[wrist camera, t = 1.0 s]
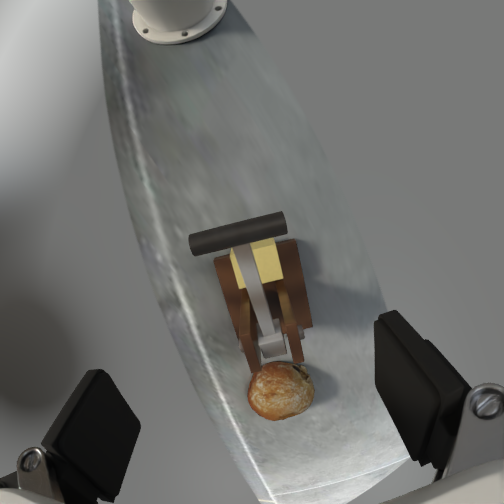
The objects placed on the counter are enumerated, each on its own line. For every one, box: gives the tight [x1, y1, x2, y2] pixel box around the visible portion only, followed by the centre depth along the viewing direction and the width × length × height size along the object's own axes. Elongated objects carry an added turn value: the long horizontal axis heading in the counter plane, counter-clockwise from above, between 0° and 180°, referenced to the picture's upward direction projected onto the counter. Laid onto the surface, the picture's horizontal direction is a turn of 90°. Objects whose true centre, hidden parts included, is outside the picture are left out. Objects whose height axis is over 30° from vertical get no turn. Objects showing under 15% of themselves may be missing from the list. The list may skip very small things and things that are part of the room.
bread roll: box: [248, 361, 315, 421], centre depth 39 cm, size 10×10×8 cm
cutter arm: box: [189, 211, 288, 358], centre depth 22 cm, size 15×6×2 cm, turn 14°
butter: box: [230, 238, 283, 289], centre depth 33 cm, size 4×5×3 cm
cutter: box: [214, 239, 313, 373], centre depth 30 cm, size 12×10×13 cm
